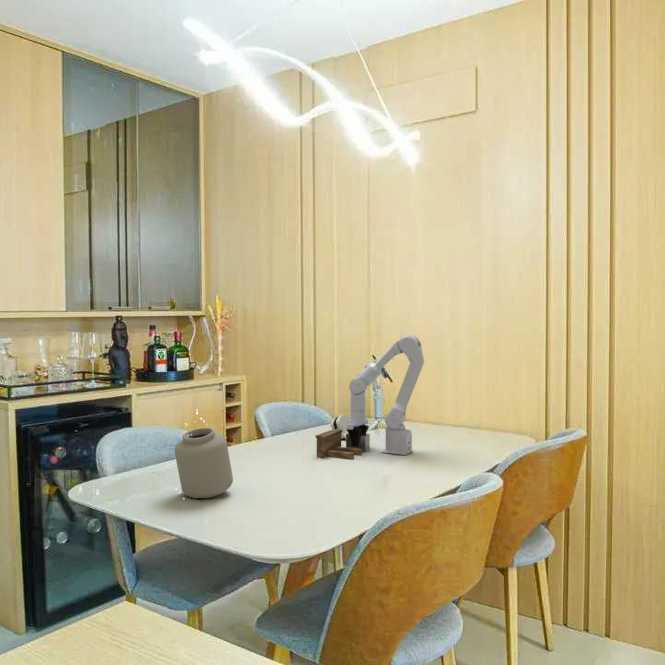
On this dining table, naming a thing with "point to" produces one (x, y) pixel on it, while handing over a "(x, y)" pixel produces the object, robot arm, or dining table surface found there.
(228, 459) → the jar
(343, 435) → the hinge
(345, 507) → the dining table surface
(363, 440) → the grey rectangular block
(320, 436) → the brown panel with bars
